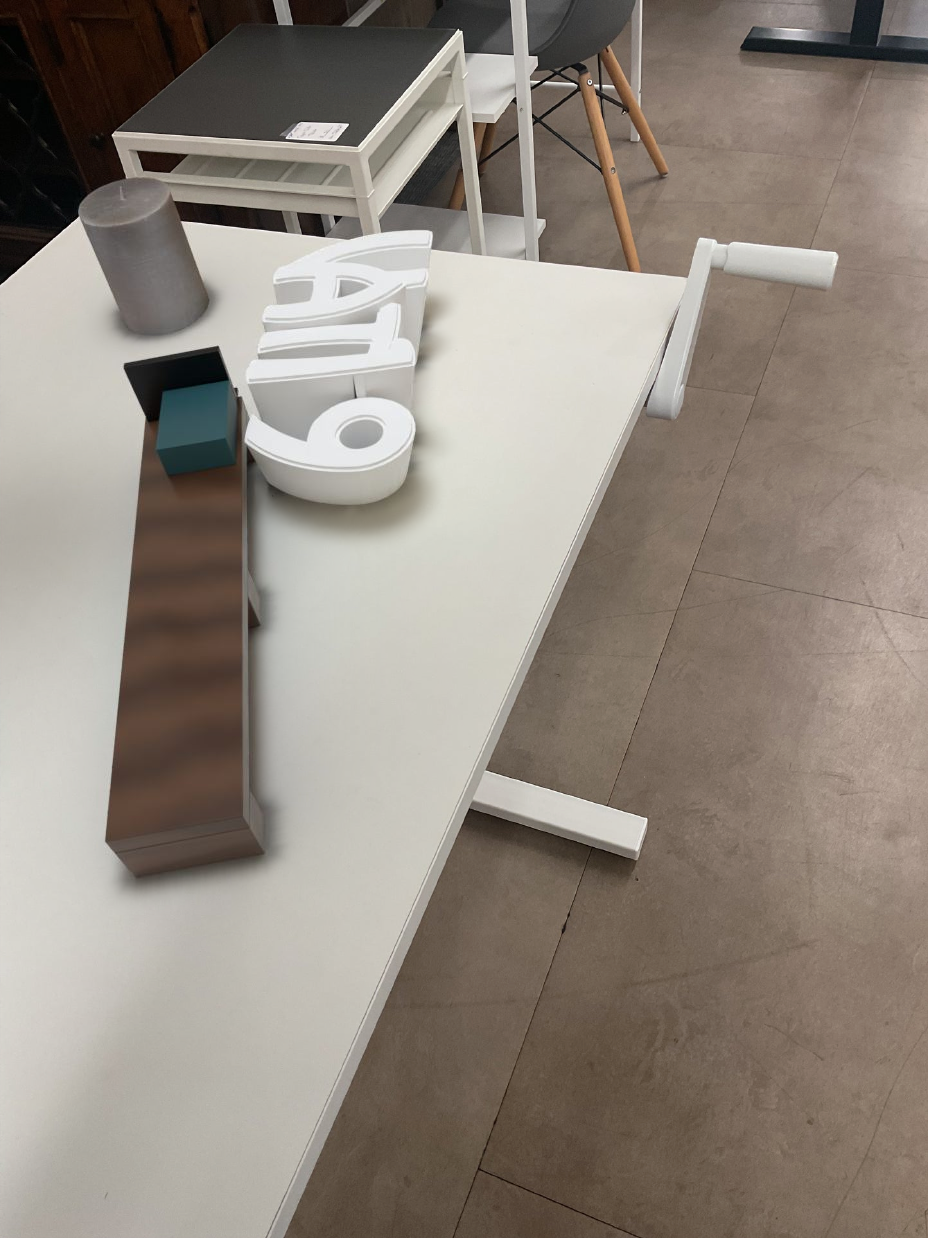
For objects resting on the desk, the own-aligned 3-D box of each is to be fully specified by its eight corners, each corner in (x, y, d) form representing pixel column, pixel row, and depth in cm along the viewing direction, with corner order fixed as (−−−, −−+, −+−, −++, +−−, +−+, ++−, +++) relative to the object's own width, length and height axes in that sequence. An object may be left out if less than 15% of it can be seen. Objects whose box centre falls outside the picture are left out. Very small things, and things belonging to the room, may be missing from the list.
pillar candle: (161, 284, 118) (112, 159, 107) (228, 298, 115) (184, 170, 103) (108, 332, 113) (51, 205, 101) (176, 348, 109) (125, 218, 98)
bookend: (238, 405, 92) (218, 350, 87) (147, 422, 92) (123, 368, 87) (238, 390, 93) (219, 335, 89) (149, 407, 93) (125, 353, 89)
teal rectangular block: (236, 464, 87) (225, 437, 84) (167, 476, 87) (155, 449, 84) (238, 406, 92) (228, 379, 89) (173, 417, 92) (162, 390, 90)
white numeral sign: (311, 308, 111) (287, 218, 103) (458, 300, 109) (446, 208, 101) (239, 538, 89) (202, 448, 81) (422, 535, 87) (402, 442, 79)
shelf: (267, 858, 69) (242, 816, 64) (138, 882, 69) (104, 842, 64) (259, 445, 97) (241, 395, 93) (167, 462, 97) (145, 413, 93)
